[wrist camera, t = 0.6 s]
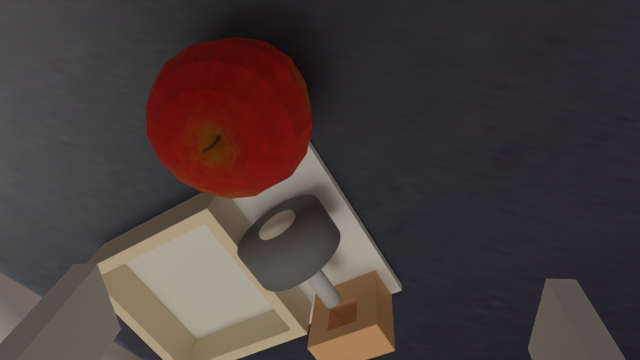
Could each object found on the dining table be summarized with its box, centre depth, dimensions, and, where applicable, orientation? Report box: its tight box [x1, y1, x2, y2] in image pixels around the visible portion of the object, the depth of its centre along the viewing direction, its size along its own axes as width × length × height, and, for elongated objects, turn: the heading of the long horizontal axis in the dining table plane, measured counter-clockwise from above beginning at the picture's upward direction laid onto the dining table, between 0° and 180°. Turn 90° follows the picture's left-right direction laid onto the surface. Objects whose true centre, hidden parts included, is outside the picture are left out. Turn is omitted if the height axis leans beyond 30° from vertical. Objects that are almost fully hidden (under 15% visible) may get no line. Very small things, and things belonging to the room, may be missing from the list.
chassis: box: [87, 141, 402, 360], centre depth 36 cm, size 16×22×7 cm
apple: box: [146, 37, 313, 199], centre depth 26 cm, size 9×9×12 cm
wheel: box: [237, 195, 341, 308], centre depth 33 cm, size 8×7×7 cm
